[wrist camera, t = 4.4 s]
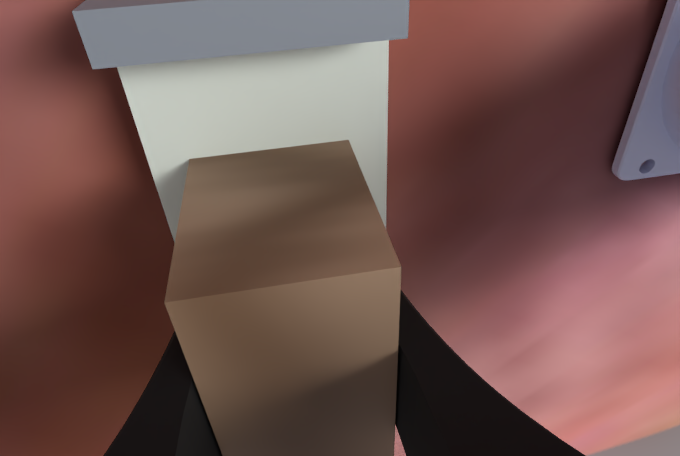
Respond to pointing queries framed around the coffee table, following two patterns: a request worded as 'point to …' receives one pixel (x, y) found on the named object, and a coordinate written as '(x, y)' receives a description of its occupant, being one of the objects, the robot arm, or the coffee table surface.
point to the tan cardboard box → (288, 302)
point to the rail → (248, 78)
